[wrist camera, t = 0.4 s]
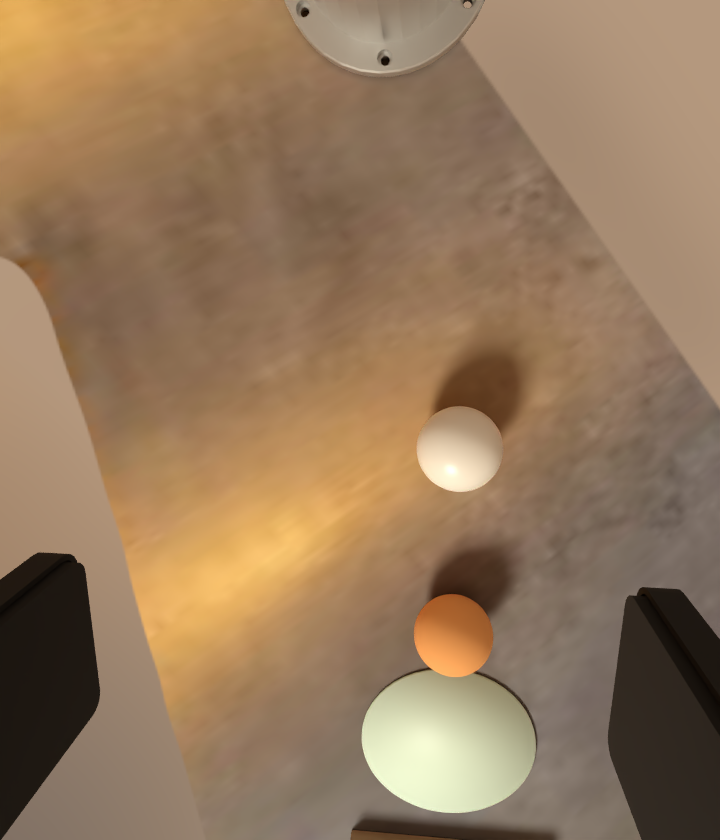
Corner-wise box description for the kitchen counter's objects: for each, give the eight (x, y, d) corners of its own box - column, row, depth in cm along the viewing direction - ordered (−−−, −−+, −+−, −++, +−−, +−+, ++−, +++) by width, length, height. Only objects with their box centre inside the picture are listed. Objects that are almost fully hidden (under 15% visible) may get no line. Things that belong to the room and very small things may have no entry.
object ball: (415, 577, 45) (413, 621, 40) (490, 581, 44) (499, 625, 39) (414, 642, 47) (412, 692, 41) (487, 646, 46) (495, 697, 41)
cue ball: (417, 397, 41) (416, 417, 36) (500, 398, 41) (511, 419, 35) (416, 473, 43) (415, 504, 37) (496, 475, 42) (506, 506, 37)
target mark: (361, 663, 48) (360, 664, 47) (541, 674, 46) (541, 675, 46) (362, 803, 51) (362, 805, 51) (529, 817, 50) (530, 819, 50)
